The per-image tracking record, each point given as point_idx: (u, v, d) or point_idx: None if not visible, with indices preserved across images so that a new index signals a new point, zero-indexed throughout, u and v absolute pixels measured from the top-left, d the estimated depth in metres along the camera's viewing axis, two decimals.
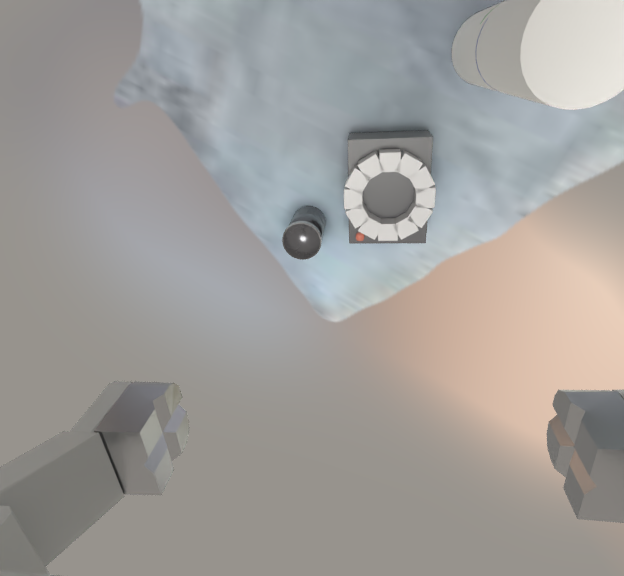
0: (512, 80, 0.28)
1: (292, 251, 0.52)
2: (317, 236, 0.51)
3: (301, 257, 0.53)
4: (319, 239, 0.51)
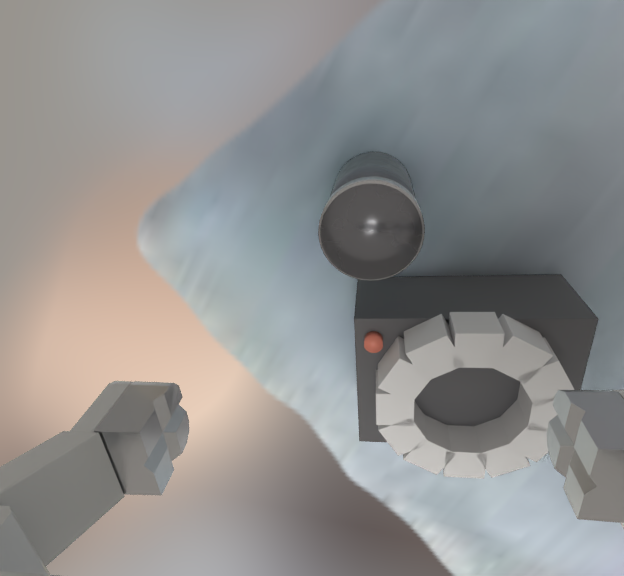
0: None
1: (341, 208, 0.19)
2: (387, 272, 0.20)
3: (324, 232, 0.19)
4: (377, 278, 0.20)
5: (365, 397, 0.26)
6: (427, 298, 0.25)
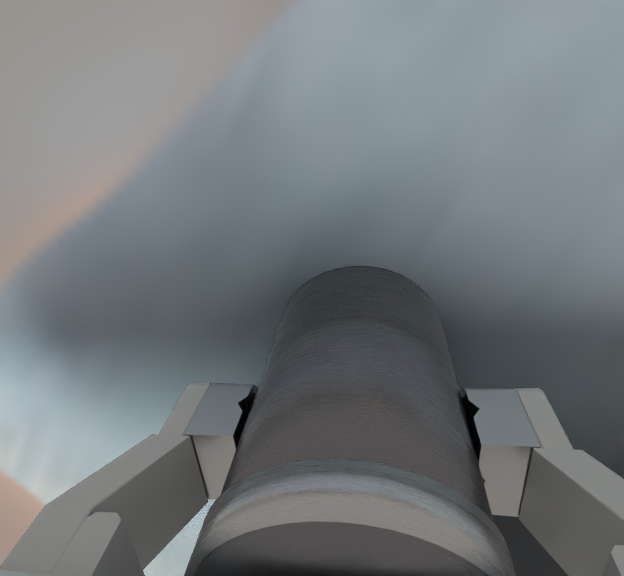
0: None
1: (246, 575, 0.05)
2: None
3: None
4: None
5: None
6: None
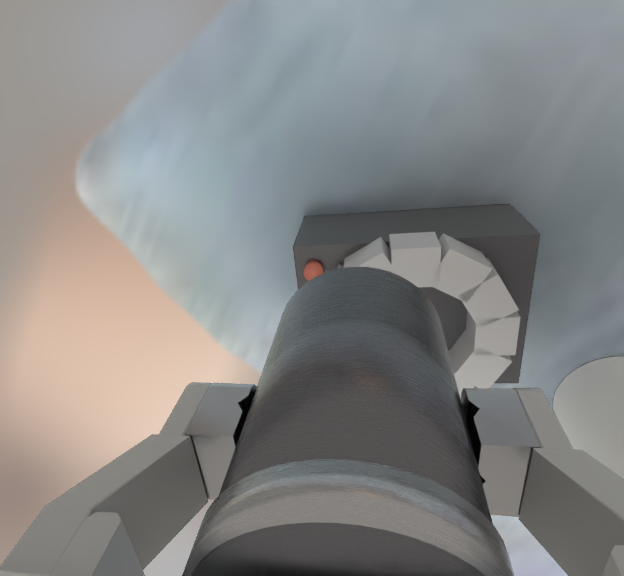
0: None
1: None
2: None
3: None
4: None
5: None
6: (371, 228, 0.24)
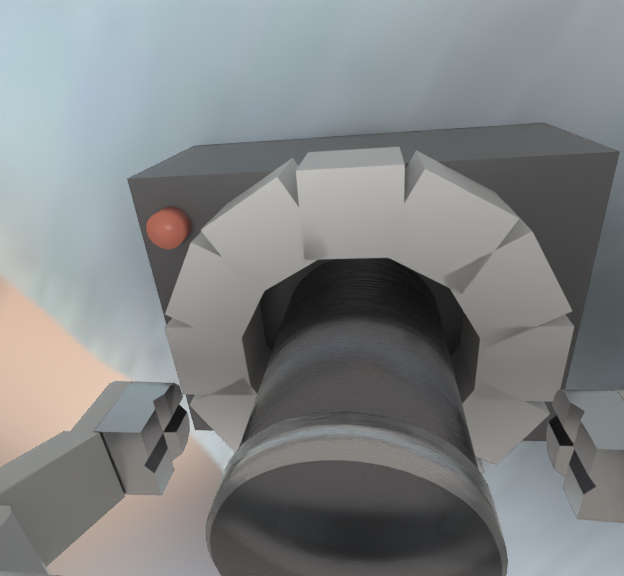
0: None
1: (263, 511, 0.06)
2: None
3: (223, 552, 0.07)
4: None
5: None
6: (288, 154, 0.13)
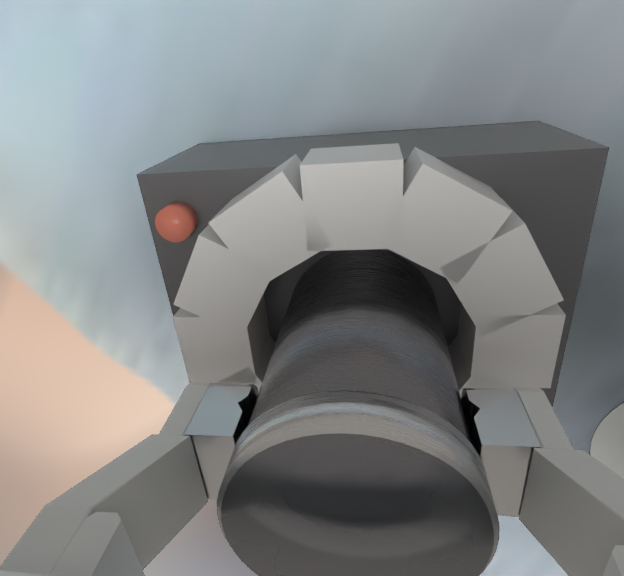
0: None
1: (269, 484, 0.07)
2: None
3: (233, 525, 0.07)
4: None
5: None
6: (292, 151, 0.13)
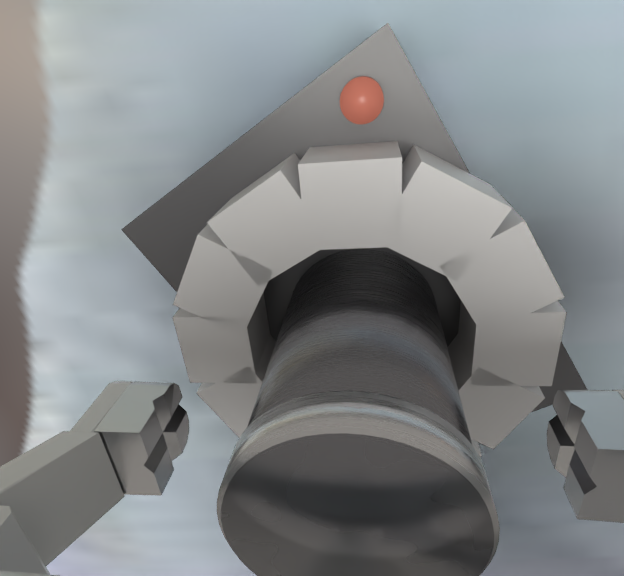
0: None
1: (271, 483, 0.07)
2: None
3: (233, 524, 0.07)
4: None
5: (220, 175, 0.12)
6: None
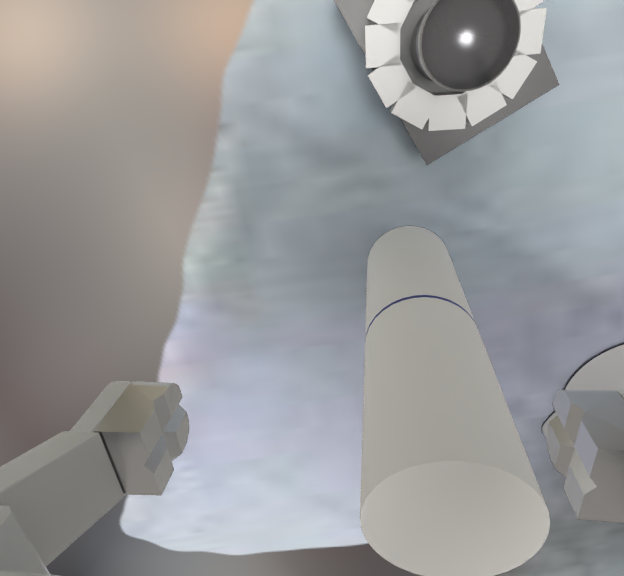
0: (486, 413, 0.18)
1: (444, 11, 0.20)
2: (481, 81, 0.21)
3: (426, 39, 0.21)
4: (471, 87, 0.22)
5: None
6: None
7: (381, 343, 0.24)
